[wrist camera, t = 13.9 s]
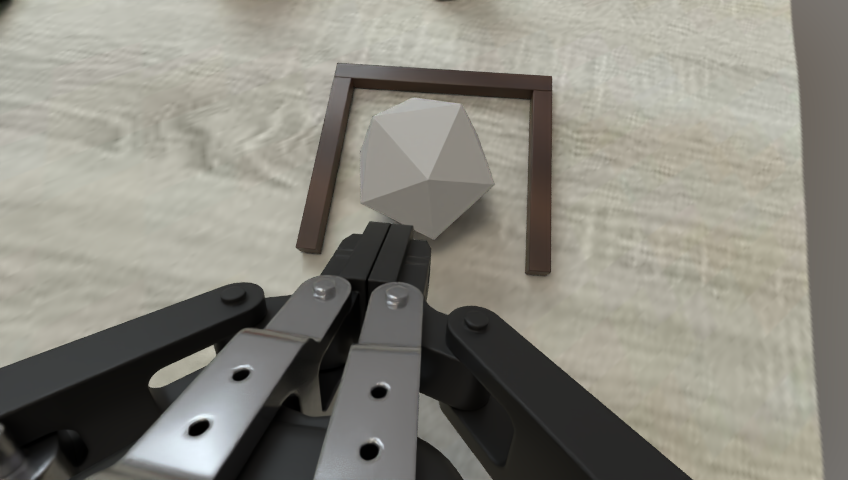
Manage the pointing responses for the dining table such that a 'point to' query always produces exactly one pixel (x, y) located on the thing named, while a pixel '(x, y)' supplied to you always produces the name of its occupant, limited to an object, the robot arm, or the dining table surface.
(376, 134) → the die
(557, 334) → the dining table surface
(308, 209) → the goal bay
